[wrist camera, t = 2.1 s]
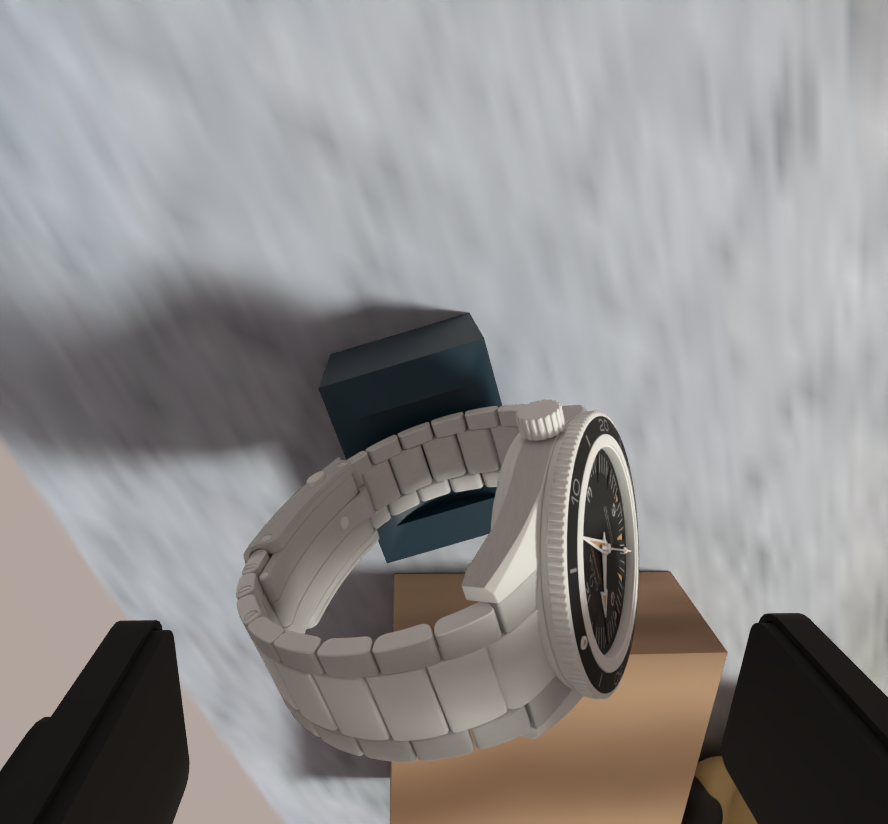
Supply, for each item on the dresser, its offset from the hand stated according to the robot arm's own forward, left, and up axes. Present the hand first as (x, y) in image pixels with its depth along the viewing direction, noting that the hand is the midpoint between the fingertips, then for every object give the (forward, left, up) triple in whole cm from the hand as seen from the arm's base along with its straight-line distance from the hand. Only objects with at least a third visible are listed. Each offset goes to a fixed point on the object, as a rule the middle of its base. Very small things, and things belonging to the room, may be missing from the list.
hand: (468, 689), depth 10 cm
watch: (-1, 0, -10) cm, 10 cm away
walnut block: (+10, +4, -10) cm, 15 cm away
